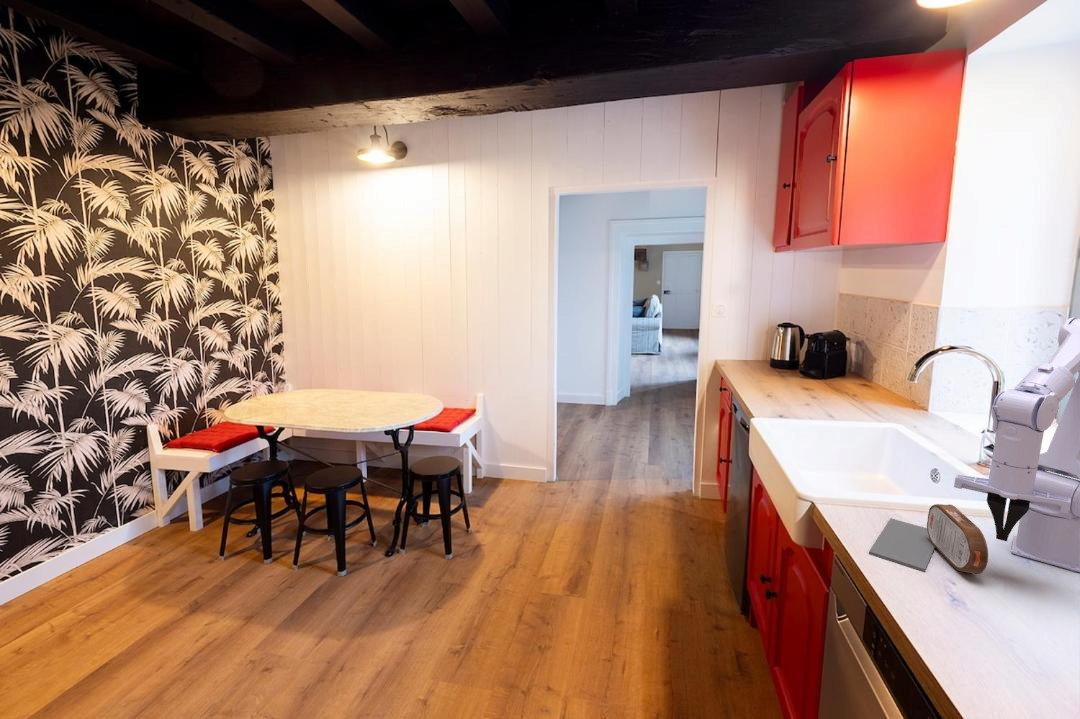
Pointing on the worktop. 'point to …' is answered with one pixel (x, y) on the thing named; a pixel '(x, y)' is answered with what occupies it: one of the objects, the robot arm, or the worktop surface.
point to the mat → (904, 544)
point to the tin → (957, 538)
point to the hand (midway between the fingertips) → (1001, 538)
